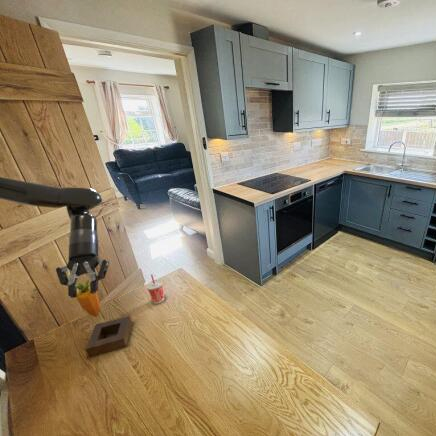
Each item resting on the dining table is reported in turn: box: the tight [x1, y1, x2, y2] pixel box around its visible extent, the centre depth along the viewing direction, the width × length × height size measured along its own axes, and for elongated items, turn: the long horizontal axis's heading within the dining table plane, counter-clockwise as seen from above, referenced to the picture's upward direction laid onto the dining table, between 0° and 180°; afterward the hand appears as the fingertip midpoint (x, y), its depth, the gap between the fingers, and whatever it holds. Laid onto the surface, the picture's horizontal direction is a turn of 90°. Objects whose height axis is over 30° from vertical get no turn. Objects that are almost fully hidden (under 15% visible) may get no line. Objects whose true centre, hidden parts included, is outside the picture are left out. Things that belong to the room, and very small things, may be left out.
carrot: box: [75, 278, 101, 318], centre depth 78 cm, size 5×5×15 cm
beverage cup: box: [145, 274, 165, 305], centre depth 103 cm, size 6×6×14 cm
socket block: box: [85, 315, 133, 358], centre depth 87 cm, size 11×11×4 cm
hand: (83, 295), depth 75 cm, fingers closed on carrot, 4 cm apart
